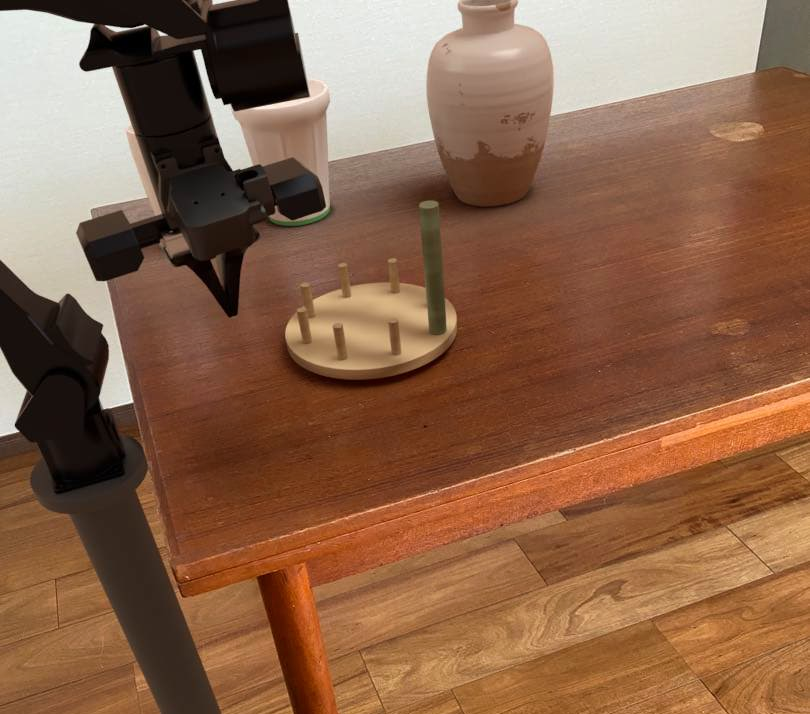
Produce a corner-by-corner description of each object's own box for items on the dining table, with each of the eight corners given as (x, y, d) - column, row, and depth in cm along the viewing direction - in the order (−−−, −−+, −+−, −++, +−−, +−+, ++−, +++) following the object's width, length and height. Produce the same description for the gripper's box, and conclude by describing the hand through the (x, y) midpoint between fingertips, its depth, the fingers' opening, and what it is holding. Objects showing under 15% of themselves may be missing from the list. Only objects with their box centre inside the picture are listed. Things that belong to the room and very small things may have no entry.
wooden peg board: (421, 390, 84) (408, 248, 74) (256, 367, 90) (224, 232, 80) (480, 300, 96) (475, 167, 86) (331, 285, 102) (311, 159, 92)
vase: (488, 227, 111) (483, 23, 96) (409, 196, 121) (393, 6, 106) (576, 188, 118) (584, -9, 102) (494, 161, 128) (491, -22, 112)
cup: (359, 216, 118) (343, 93, 107) (272, 241, 114) (247, 116, 104) (324, 187, 126) (306, 70, 116) (242, 210, 123) (216, 91, 112)
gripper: (61, 194, 56) (144, 397, 67) (329, 114, 60) (368, 317, 71) (40, 147, 64) (118, 335, 75) (279, 79, 68) (321, 267, 79)
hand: (232, 314), depth 75 cm, fingers closed
